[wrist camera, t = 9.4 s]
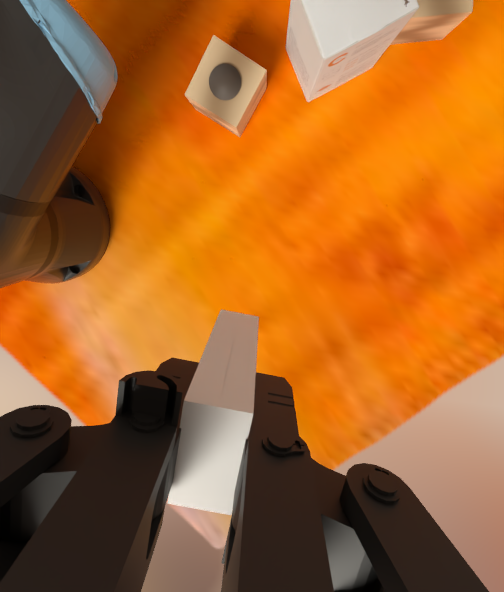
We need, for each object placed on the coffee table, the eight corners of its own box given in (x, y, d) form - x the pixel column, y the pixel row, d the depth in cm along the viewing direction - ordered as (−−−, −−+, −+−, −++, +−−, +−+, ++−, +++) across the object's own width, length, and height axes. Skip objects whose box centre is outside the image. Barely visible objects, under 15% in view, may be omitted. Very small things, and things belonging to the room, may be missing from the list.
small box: (351, 8, 39) (393, -85, 26) (373, 68, 40) (422, 7, 27) (283, 47, 40) (291, -24, 27) (306, 104, 41) (324, 61, 29)
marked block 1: (195, 109, 42) (184, 94, 36) (220, 58, 40) (213, 33, 34) (240, 137, 42) (236, 127, 36) (266, 88, 41) (266, 69, 35)
